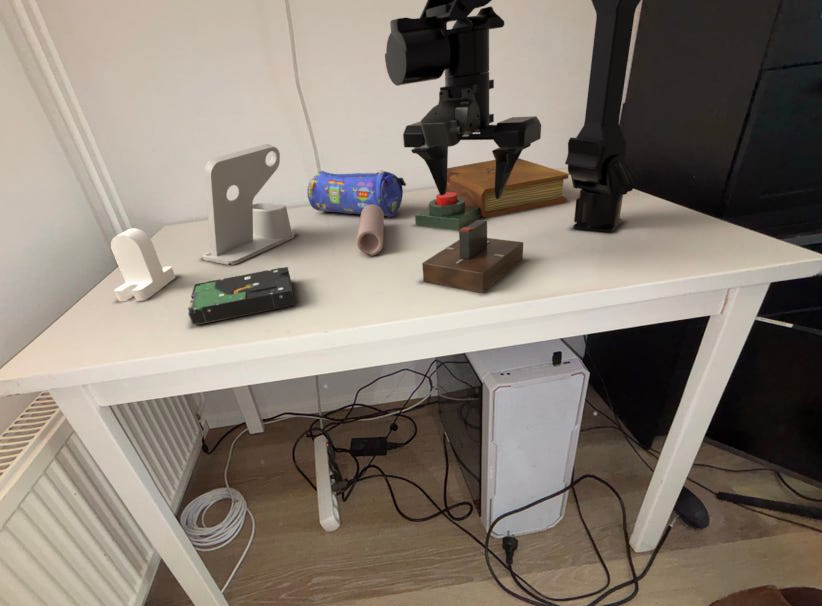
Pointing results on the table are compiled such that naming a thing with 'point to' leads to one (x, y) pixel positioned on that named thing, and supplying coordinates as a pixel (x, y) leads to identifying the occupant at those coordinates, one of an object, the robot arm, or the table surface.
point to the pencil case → (355, 192)
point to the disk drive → (240, 295)
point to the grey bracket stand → (243, 206)
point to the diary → (521, 192)
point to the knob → (473, 239)
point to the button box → (448, 215)
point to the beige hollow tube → (371, 230)
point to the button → (446, 198)
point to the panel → (473, 265)
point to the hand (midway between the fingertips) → (469, 196)
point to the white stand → (138, 266)
